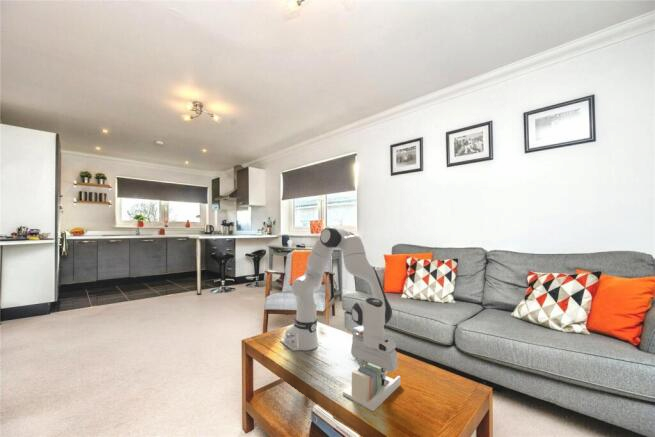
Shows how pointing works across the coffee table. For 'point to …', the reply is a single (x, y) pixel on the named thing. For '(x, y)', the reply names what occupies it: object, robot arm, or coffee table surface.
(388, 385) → the slotted holder
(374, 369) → the sage green cuboid
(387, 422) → the coffee table surface
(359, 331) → the small box
